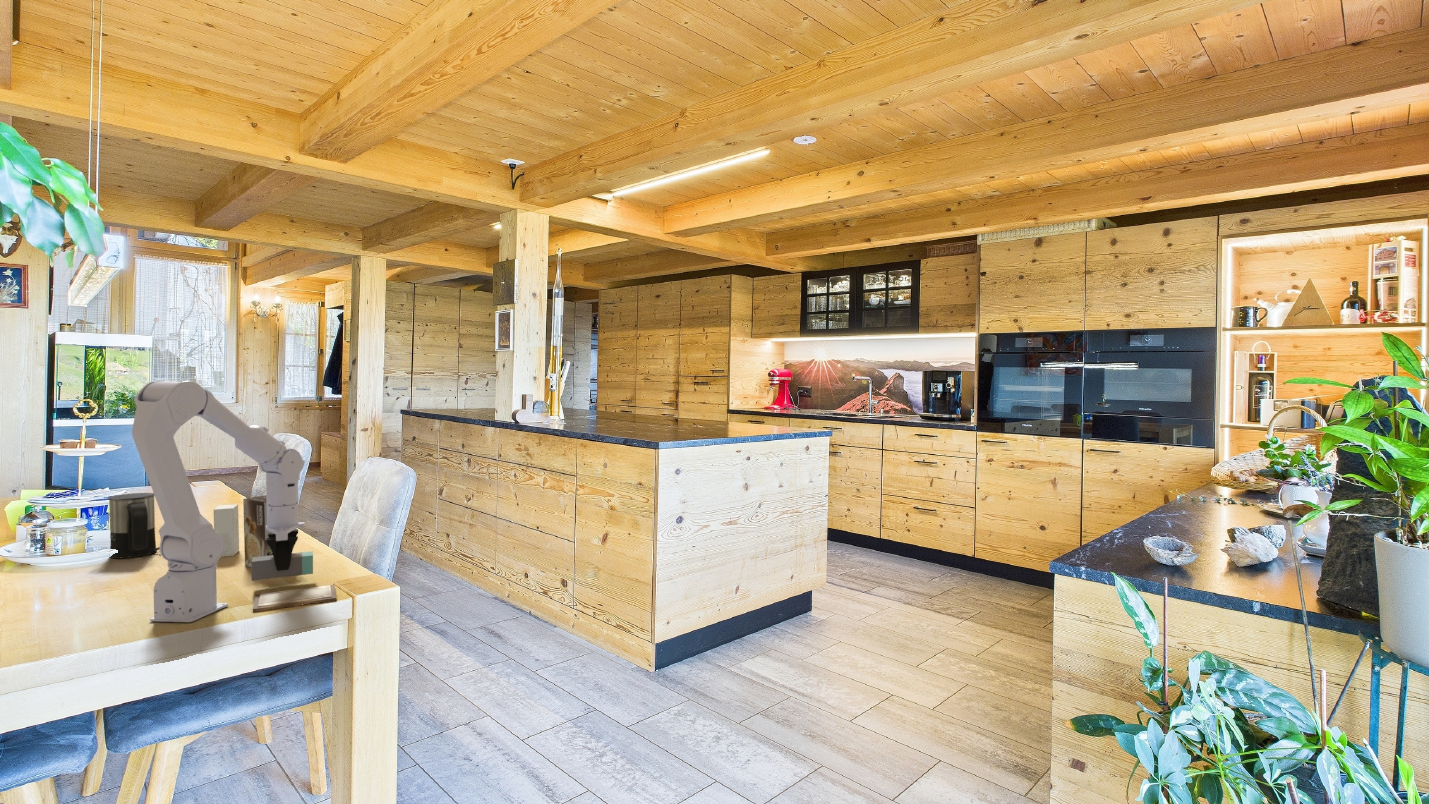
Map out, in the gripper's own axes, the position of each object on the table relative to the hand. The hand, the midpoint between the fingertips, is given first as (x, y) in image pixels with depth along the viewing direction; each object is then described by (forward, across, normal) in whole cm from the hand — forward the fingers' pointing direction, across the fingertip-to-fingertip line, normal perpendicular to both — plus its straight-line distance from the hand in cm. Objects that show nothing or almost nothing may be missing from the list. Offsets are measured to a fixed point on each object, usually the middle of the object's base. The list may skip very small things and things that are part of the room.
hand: (283, 567), depth 148 cm
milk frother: (+4, +48, +29) cm, 56 cm away
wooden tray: (+4, -11, -2) cm, 12 cm away
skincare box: (+4, +37, +13) cm, 40 cm away
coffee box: (+4, +20, +4) cm, 21 cm away
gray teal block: (+2, 0, 0) cm, 2 cm away
